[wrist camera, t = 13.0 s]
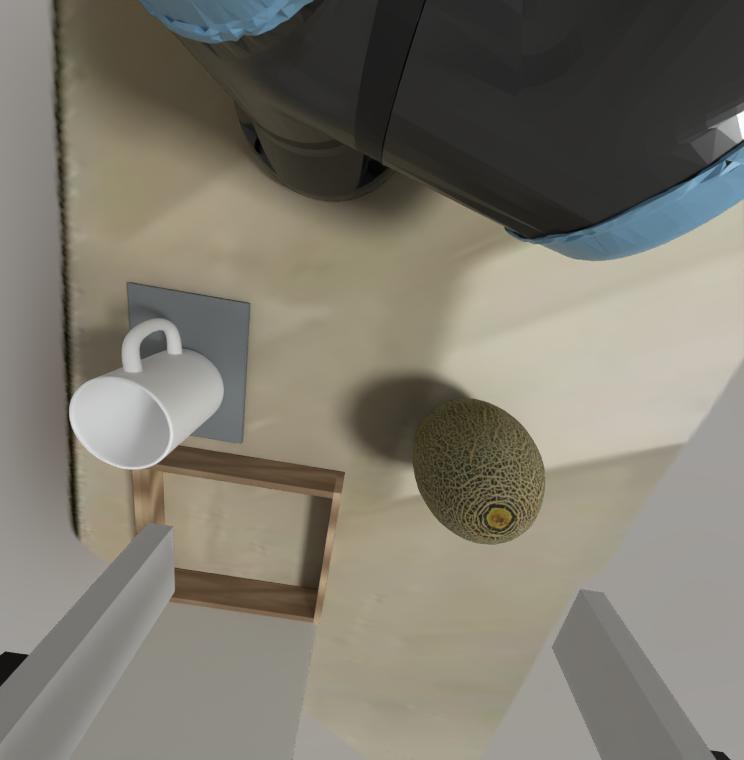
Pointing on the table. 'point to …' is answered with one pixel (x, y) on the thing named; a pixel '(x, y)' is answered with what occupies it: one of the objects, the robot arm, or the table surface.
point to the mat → (202, 345)
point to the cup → (146, 401)
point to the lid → (207, 690)
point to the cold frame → (254, 473)
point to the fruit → (478, 471)
